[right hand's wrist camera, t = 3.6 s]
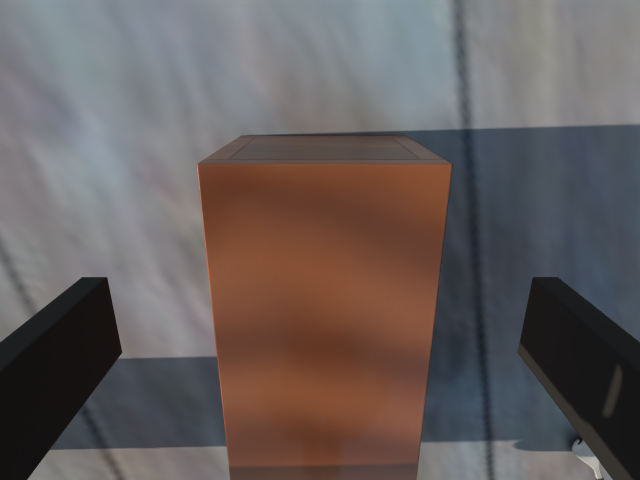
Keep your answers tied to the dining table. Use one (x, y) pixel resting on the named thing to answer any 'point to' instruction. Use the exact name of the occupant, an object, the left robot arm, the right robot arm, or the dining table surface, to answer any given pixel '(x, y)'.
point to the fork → (587, 457)
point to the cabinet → (323, 301)
